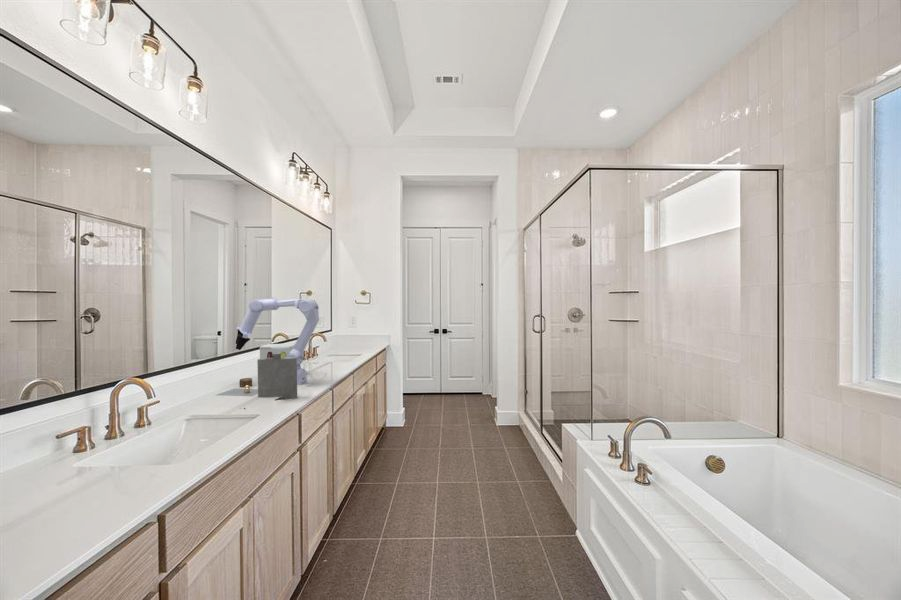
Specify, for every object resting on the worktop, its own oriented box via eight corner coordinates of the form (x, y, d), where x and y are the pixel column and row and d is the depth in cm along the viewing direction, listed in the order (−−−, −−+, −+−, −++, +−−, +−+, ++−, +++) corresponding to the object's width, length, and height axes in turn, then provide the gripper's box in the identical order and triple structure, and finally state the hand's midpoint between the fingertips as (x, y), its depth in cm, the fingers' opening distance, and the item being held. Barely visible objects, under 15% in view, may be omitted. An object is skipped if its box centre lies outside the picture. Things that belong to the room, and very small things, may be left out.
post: (251, 392, 166) (251, 384, 166) (247, 393, 164) (247, 385, 164) (246, 392, 167) (246, 384, 167) (242, 393, 164) (242, 385, 164)
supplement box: (259, 379, 201) (258, 346, 201) (268, 374, 214) (268, 343, 214) (291, 378, 203) (291, 345, 203) (299, 373, 216) (298, 343, 216)
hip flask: (298, 396, 163) (297, 351, 163) (295, 399, 159) (295, 352, 159) (259, 399, 160) (258, 353, 160) (256, 401, 156) (255, 354, 156)
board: (269, 392, 171) (269, 389, 171) (251, 399, 159) (251, 396, 159) (234, 391, 174) (234, 388, 174) (214, 398, 162) (214, 395, 162)
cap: (254, 388, 181) (254, 377, 181) (247, 390, 176) (246, 380, 176) (244, 387, 182) (244, 377, 182) (237, 390, 176) (237, 380, 176)
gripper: (240, 315, 187) (229, 339, 187) (241, 323, 175) (229, 349, 175) (255, 320, 191) (243, 343, 191) (256, 328, 179) (244, 353, 179)
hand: (237, 346), depth 183 cm, fingers open, 7 cm apart
